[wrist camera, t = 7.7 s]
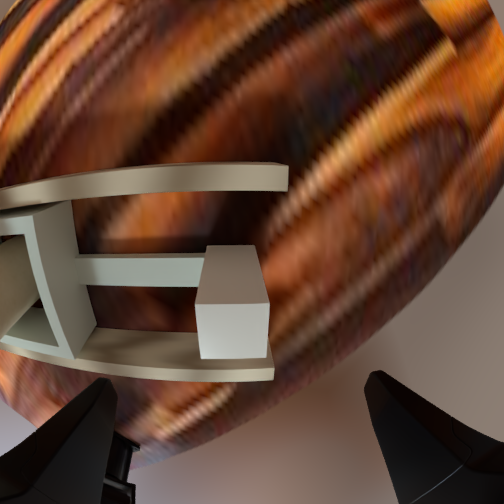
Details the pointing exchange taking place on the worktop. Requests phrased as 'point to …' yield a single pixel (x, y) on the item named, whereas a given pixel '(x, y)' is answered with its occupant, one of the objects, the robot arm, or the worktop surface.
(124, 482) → the robot arm
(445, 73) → the worktop surface
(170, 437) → the worktop surface
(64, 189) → the channel
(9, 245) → the candle
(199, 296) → the square frame with handle
